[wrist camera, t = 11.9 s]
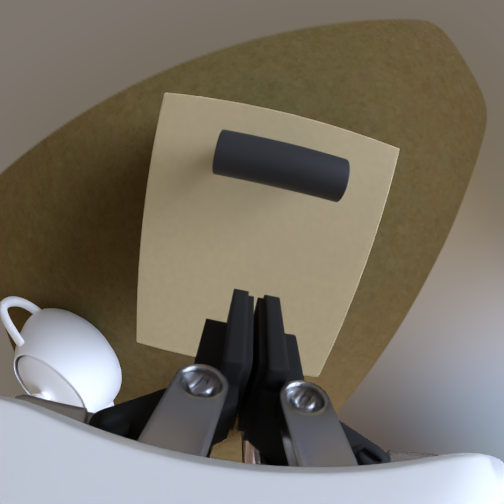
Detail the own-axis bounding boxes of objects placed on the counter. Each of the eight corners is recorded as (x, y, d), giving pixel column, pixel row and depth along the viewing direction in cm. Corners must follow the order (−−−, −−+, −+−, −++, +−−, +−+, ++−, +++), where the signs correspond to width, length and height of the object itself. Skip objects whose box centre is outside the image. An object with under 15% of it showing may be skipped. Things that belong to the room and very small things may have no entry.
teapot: (9, 293, 29) (-41, 336, 19) (66, 252, 27) (0, 300, 16) (103, 414, 35) (78, 468, 25) (173, 401, 33) (154, 470, 23)
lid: (168, 94, 14) (131, 76, 9) (394, 148, 14) (442, 153, 10) (139, 335, 19) (113, 384, 14) (316, 369, 20) (328, 423, 15)
